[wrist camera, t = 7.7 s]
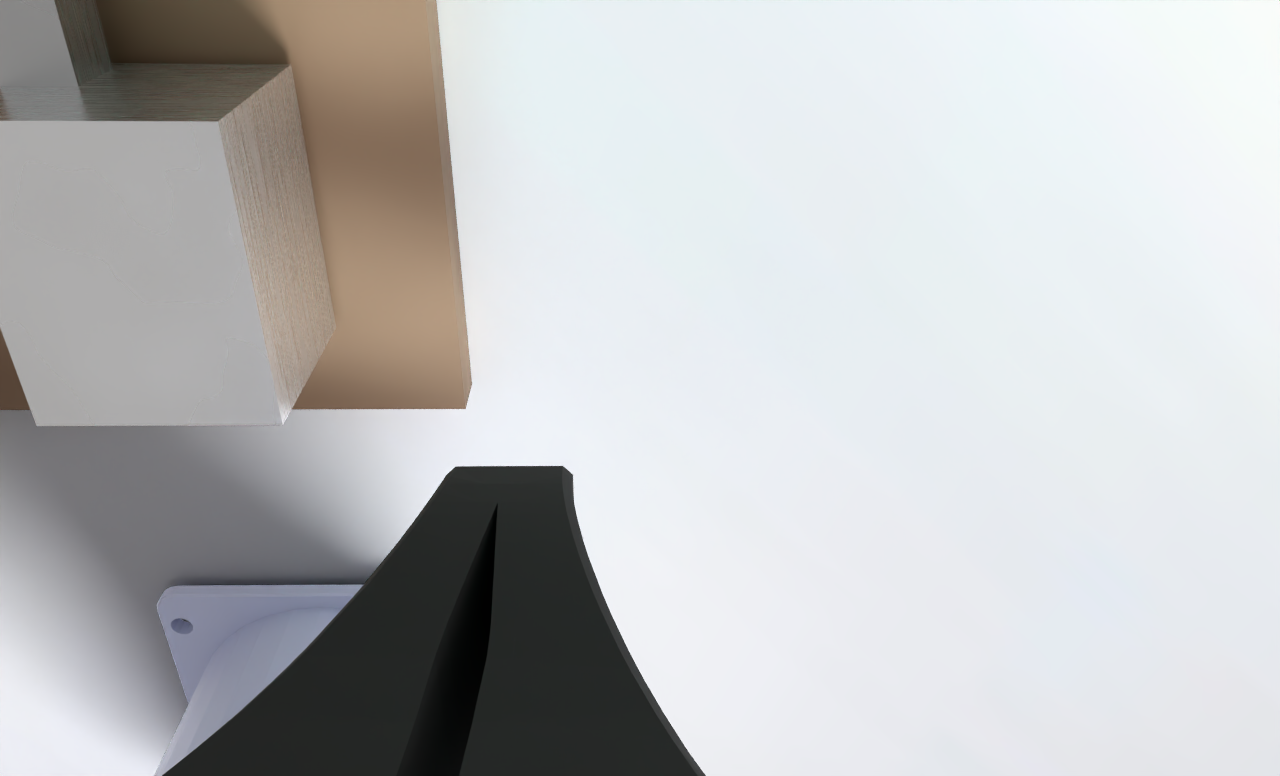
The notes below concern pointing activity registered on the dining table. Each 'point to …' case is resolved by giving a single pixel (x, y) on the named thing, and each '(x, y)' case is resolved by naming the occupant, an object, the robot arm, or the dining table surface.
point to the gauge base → (345, 179)
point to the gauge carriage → (152, 232)
